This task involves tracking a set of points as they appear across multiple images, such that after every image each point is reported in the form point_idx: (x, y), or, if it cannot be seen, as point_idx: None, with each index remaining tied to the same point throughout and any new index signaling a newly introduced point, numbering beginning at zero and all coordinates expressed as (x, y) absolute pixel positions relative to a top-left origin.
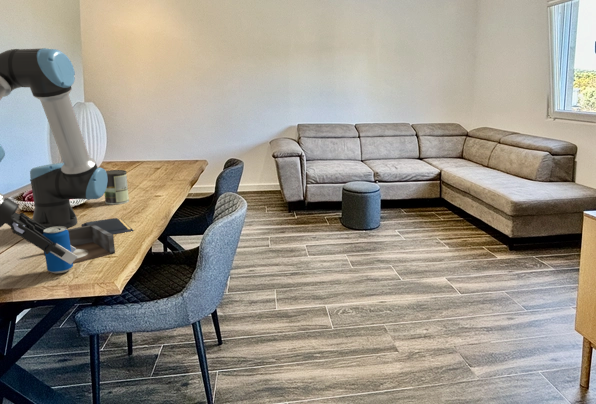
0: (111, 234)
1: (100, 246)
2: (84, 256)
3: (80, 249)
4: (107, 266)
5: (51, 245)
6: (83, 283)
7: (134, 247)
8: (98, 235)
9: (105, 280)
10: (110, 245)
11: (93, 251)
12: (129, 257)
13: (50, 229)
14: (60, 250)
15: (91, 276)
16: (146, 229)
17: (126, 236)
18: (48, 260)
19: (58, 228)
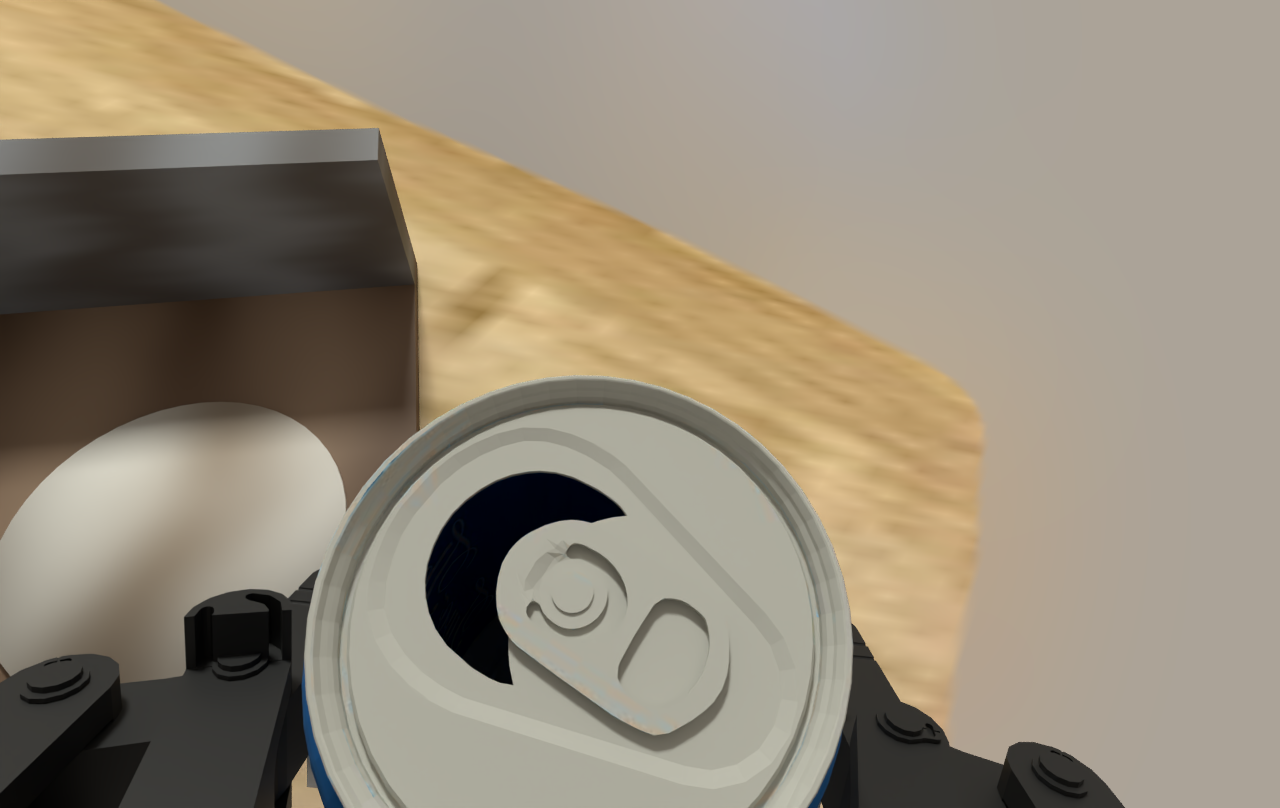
0: (351, 133)
1: (180, 299)
2: (339, 456)
3: (98, 447)
4: (680, 368)
5: (1099, 792)
6: (968, 583)
7: (393, 154)
8: (95, 223)
9: (961, 439)
10: (400, 231)
11: (263, 369)
12: (582, 225)
13: (443, 701)
14: (873, 659)
15: (839, 503)
16: (57, 10)
17: (77, 121)
18: None
19: (368, 514)
